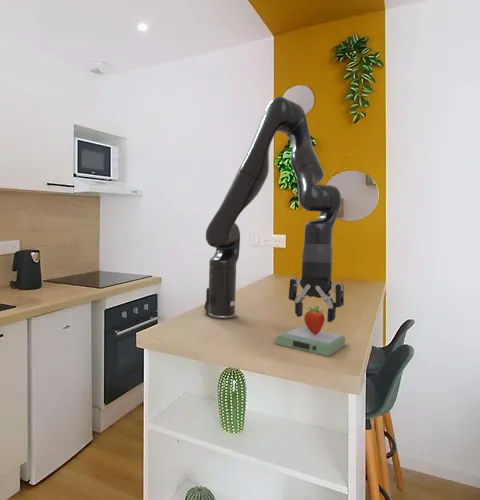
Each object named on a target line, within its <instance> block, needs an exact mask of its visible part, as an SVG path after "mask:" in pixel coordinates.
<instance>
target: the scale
mask: <svg viewBox="0 0 480 500" xmlns="http://www.w3.org/2000/svg"><path fill="white" fill-rule="evenodd" d="M276 344H277V345H280V346H282V347H283V346H284V347H288V348H291V349H296V350H301V351H304V352H309V353H314V354H317V355H321V356H326V357H329V356H330V355H332V354H334V353H335V352H337V351H339V350H340V349H341V348H343V347H344V346H345V345H346V336H344V335H343V334H339V333H334V332H329V331H324V330H320V332H319V333H317V334H313V333H312V332H311V331H310V330H309V329H308V327H304V326H295V327H292V328H291V329H288V330H286V331H283V332H281V333H279V334H277V335H276Z"/></svg>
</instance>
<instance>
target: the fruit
mask: <svg viewBox="0 0 480 500" xmlns="http://www.w3.org/2000/svg"><path fill="white" fill-rule="evenodd" d="M308 308H309V309H308ZM308 308H307V310H308V311H307V312H306V313H305V315H304V318H303V319H304V320H303V321H304V323H305V325H306V328H308V329H309V330H310V331H311V332H312V333H313V334H317V333H319V332H320V331H322V328H323V326H324V324H325V315H324V313H323V312H324V311H325V310H326V309H322V310H320V306H319V305H318V306H314V307H313V308H312V307H311V306H309V307H308Z"/></svg>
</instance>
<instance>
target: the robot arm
mask: <svg viewBox="0 0 480 500" xmlns="http://www.w3.org/2000/svg"><path fill="white" fill-rule="evenodd" d="M277 132H278V133H282V134H285V136H286V137H287V138H288V139H289V141H290V143H291V147H292V148H291V152H290V164H291V167H292V170H293V172H294V175H295V178H296V180H297V193H298V195H297V197H298V198H297V199H298V204H299V205H300V207H301V208H302V209H303V210H305V211H306V212H319V214H318V216H317V218H316V219H313V220H309V221H307V222H306V223H305V225H304V235H303V236H304V237H303V247H302V254H301V259H302V261H301V279H299V278H297V277H294V278H291V279H290V280H289V286H288V288H289V289H288V300H289V301H292V302H294V314H295V315H296V318H297V317H298V318H300V317H302V316H303V313H304V312H303V311H304V310H303V309H304V302H303V301H304V300H305V299H306V298H307V297H309V298H313V297H314V298H315V299H316V298H317V299H322V301H323V302H325V304H326V306H327V307H328V308H327V320H326V321H327V323H332V322H334V321H335V320H336V313H337V312H336V310H337V308H341V307H343V306H344V305H345V302H344V301H345V300H344V299H345V294H344V293H345V289H344V287H345V286H344V284H343V283H342V282H341V283H333V282H332V272H333V229H334V226H335V223H336V220H337V218H338V217H337V216H338V214H339V210H340V207H341V204H342V195H341V191H340V189H339V188H338V187H337V186H335V185H331V184H319V183H321V182H322V181H323V179H324V177H325V172H324V170H323V167H322V164H321V162H320V161H319V158H318V156H317V153H316V152H315V149H314V145H313V142H312V138H311V135H310V129H309V125H308V121H307V115H306V112H305V110H304V108H303V107H302V106H301V104H298V103H296V102H295V101H292V100H290V99H287V98H285V97H284V96H276V97H274V98H273V99H272V100H271V101H270V102H269V103H268V104H267V106H266V108H265V110H264V112H263V114H262V117H261V119H260V122H259V124H258V127H257V129H256V131H255V135H254V137H253V140H252V141H251V144H250V146H249V148H248V151H247V153H246V155H245V157H244V158H243V161H242V163H241V164H240V166H239V168H238V170H237V172H236V174H235V176H234V178H233V180H232V183H231V184H230V187H229V189H228V190H227V193H226V194H225V196H224V199H223V200H222V202H221V204H220V206H219V208H218V210H217V211H216V212H215V214H214V215H213V218H212V219H211V220H210V222H209V224H208V226H207V228H206V230H205V240H206V243H207V244H208V245H209V247H212V248H215V252H214V254H213V256H211V257H210V259H209V263H208V264H209V266H208V267H209V268H208V269H209V271H208V287H206V290H205V291H206V292H205V293H206V294H205V295H206V296H205V302H204V310H205V315H206V316H208V317H211V318H214V319H219V320H220V319H222V320H223V319H225V320H227V319H233V318H235V317H236V290H237V288H236V287H237V263H238V260H239V257H240V247H241V231H240V228H239V226H238V224H237V223H236V222H237V219H238V218H239V216H240V214H242V212H243V211H244V210H245V209H246V208H247V207H248V206H249V205H250V204H251V203H252V201H253V200H255V198H257V196H258V195H259V193H260V192H261V190H262V188H263V186H264V184H265V182H266V180H267V179H268V176H269V172H270V149H271V148H270V147H271V145H272V141H273V140H274V137H275V135H276V133H277ZM299 286H300V287H301V288H302V290H301V291H300V292H299V294H298V287H299ZM332 289H333V292H334V293H335V300H334V298H333V295H332V294H331V293H330V291H331V290H332ZM297 294H298V295H297Z"/></svg>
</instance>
